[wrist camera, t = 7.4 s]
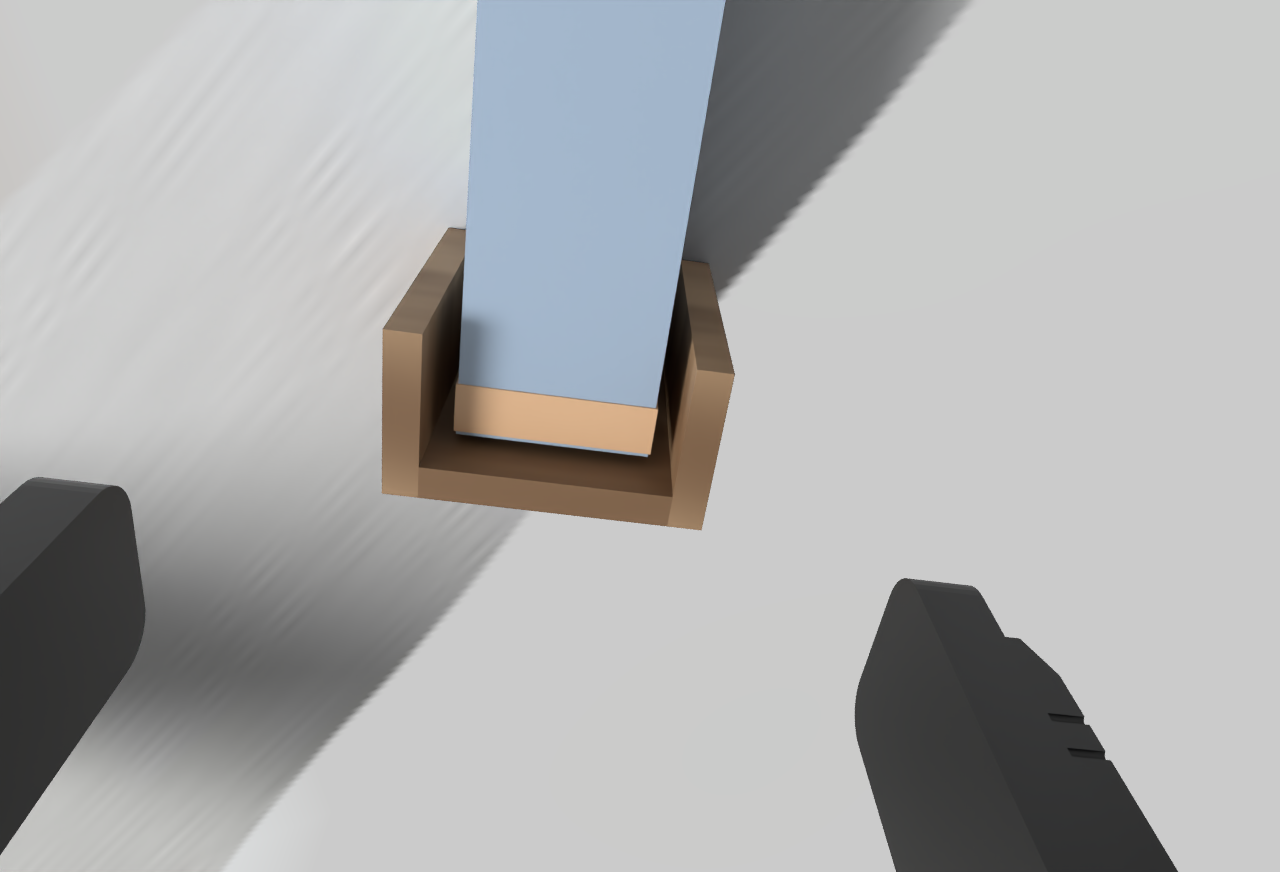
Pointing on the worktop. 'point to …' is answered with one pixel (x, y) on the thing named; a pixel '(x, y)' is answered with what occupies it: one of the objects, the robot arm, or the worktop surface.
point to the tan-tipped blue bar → (578, 214)
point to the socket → (537, 473)
